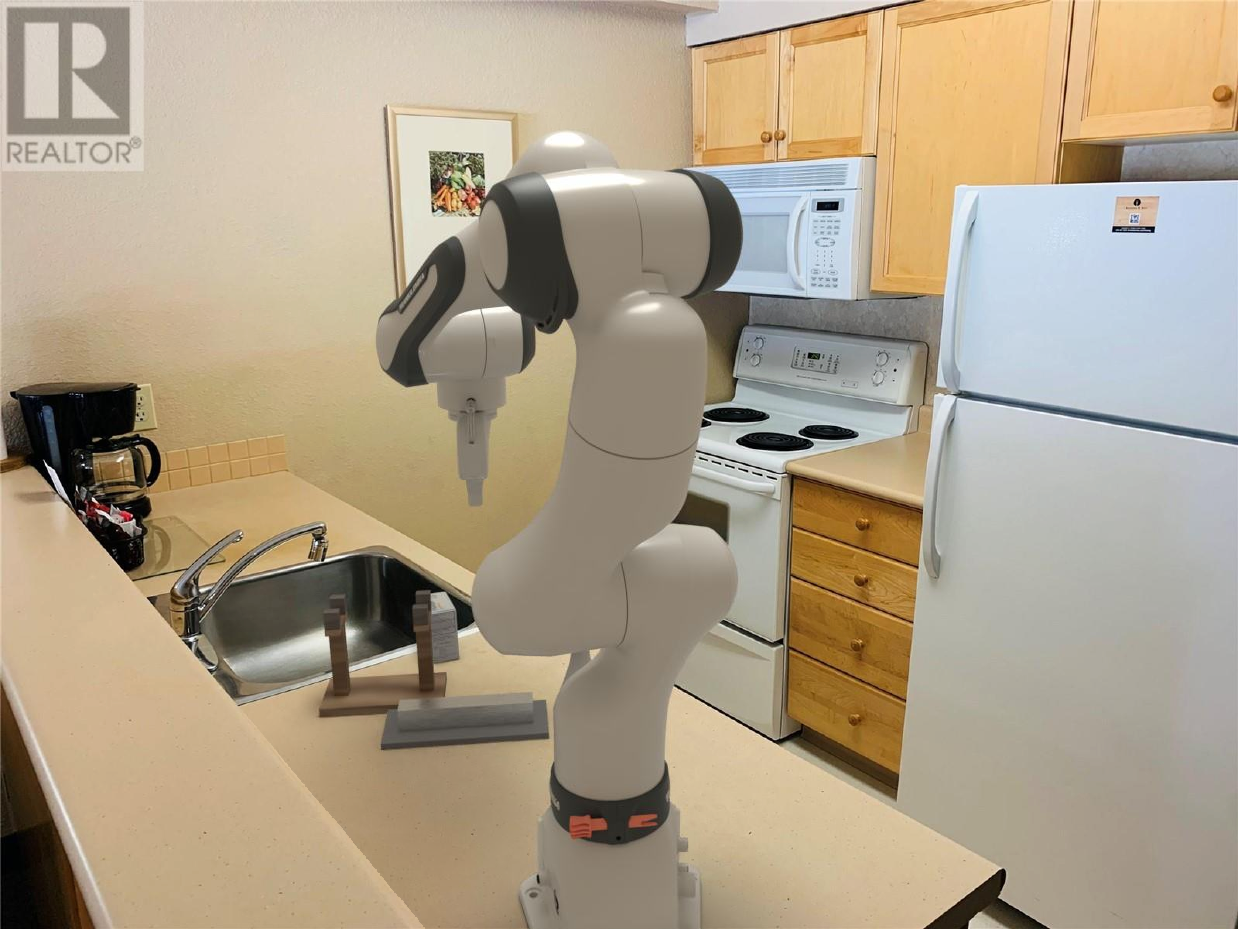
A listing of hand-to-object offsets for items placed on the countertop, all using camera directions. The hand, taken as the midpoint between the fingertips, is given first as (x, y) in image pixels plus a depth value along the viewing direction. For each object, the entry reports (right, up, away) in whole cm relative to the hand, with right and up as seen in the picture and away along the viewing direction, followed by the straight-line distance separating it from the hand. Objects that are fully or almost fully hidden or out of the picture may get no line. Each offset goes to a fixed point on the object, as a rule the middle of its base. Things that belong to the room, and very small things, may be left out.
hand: (476, 494), depth 127 cm
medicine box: (-9, -26, +25) cm, 38 cm away
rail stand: (-15, -30, +11) cm, 35 cm away
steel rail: (-2, -31, +3) cm, 31 cm away
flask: (+14, -30, +9) cm, 35 cm away
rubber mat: (-2, -32, +3) cm, 32 cm away
